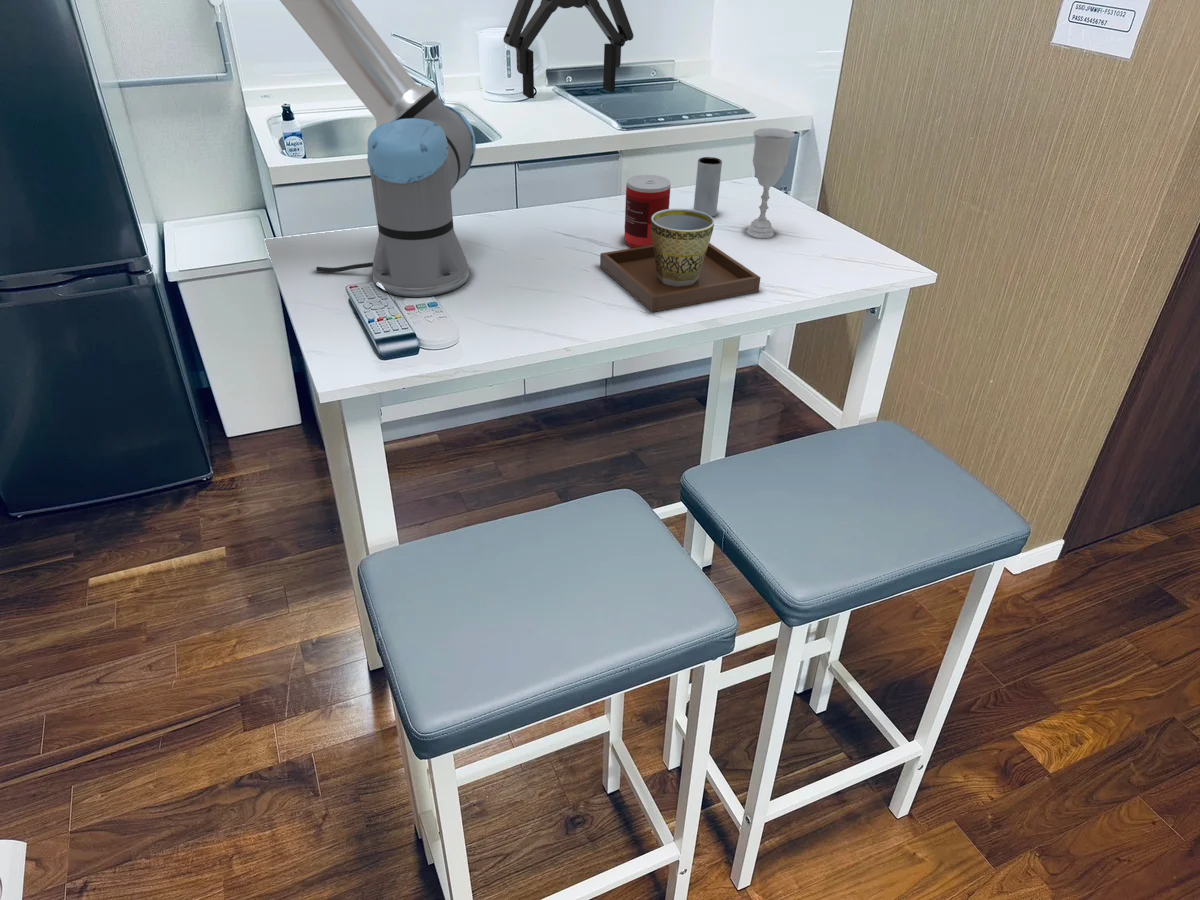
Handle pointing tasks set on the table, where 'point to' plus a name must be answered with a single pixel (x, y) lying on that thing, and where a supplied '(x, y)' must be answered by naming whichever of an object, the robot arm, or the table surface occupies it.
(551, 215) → the table surface
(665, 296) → the tray
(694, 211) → the ceramic cup
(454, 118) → the robot arm
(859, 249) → the table surface
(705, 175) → the gray cylinder
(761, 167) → the chalice
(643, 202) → the canned food
